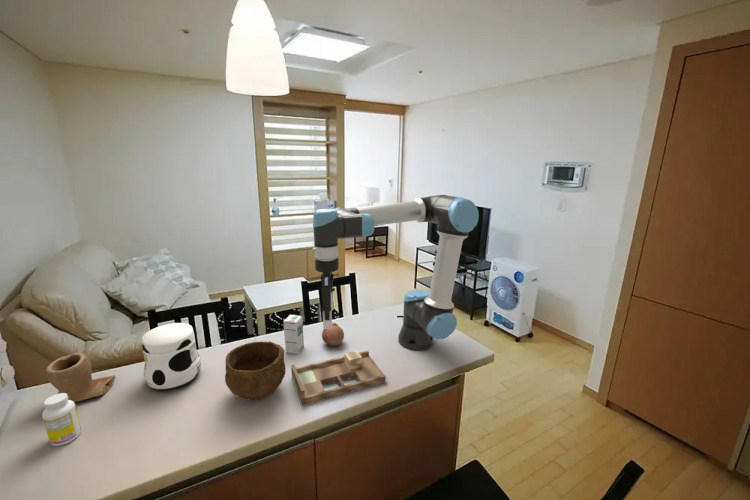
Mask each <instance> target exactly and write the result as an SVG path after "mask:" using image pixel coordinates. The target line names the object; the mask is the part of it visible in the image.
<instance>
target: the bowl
mask: <svg viewBox="0 0 750 500" xmlns="http://www.w3.org/2000/svg"><path fill="white" fill-rule="evenodd" d="M285 353H286V350H285V349H284V348H283V347H282V346H281V345H280V344H277V343H275V342H272V341H253V342H248V343H244V344H241V345H238V346H236V347H235V348H233V349H231V350H230V351H229V352H228V353H227V355H226V356H225V374H224V378H225V380H224V381H225V385H226V386H227V388H228V389H229V391H230V392H231V393H232V394H233V395H234V396H236V397H237V398H240V399H243V400H247V401H259V400H260V401H261V400H264V399H266V398H268V397H269V396H271V395H272V394H274V392H275V391H277V389H278V388H279V387H280V386H281V384H282V382H283V379H284V378H285V375H286V363H285Z"/></svg>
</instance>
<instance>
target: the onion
mask: <svg viewBox="0 0 750 500" xmlns="http://www.w3.org/2000/svg"><path fill="white" fill-rule="evenodd" d="M321 338H322V340H323V342H324V343H325V344H326V345H327V346H329V347H337V346H339V345H340V344H342V342H343V341H344V338H345V333H344V330H343V328H342V327H341V326H339V324H338V323H335V322H332V329H323V330H322V332H321Z"/></svg>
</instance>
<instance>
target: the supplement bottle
mask: <svg viewBox="0 0 750 500" xmlns="http://www.w3.org/2000/svg"><path fill="white" fill-rule="evenodd" d="M43 404H44V408H45V409H44V410H43V412H42V414H41V417H42V420H43V424H44V427H45V430H46V434H47V438H48V441H49V444H50V445H51V446H54V447H60V446H63V445H66V444H69V443H71V442H73V441H74V440H76V438H78V437H79V436H80V434H82V433H81V432H82V426H81V422H80V419H79V414H78V411H77V406H76V402H73V401H71V400H68V395H67V394H66V393H59V394H57V393H56V394H53V395H51V396H49V397H48V398H46V399H45V400H44V402H43Z"/></svg>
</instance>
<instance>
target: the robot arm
mask: <svg viewBox="0 0 750 500" xmlns="http://www.w3.org/2000/svg"><path fill="white" fill-rule="evenodd" d="M479 216H480V215H479V209H478V207H477V206H476V204H475V203H474V202H473V201H472V200H471V199H468V198H465V197H458V196H453V195H452V196H451V195H447V194H437V195H431V196H425V197H418V198H415V199H414V200H411V201H404V202H403V201H402V202H397V203H396V202H394V203H393V202H392V203H386V204H385V203H384V204H377V205H374V204H373V205H366V206H357V207H356V206H355V207H348V208H345V207H335V208H334V209H333V208H320V209H316V210H314V212H313V216H312V217H313V219H312V226H313V227H312V228H313V242H314V243H313V244H314V246H313V247H312V249H311V250H312V251H313V252H314V258H315V259H314V269H315V271H316V272H319V273H321V275H320V282H321V290H322V296H321V297H322V303H321V304H322V307H321V308H320V311H321V312H322V324H323V325H322V326H323V330H324V329H332V323H333V317H332V316H333V314H332V313H333V312H332V311H334V292H335V290H336V289H335V288H334V285H333V282H334V276H335V275H334V273H333V272H336V271H338V270H339V268H340V265H339V263H340V262H339V258H338V257H339V239H340V240H341V239H352V238H353V239H354V238H364V237H371V236H372V235H373V234H374V231H375V226H382V225H383V226H384V225H391V224H399V223H406V222H415V221H416V222H417V223H432V224H436V232H437V234H438V235H439V238H438V244H437V249H436V255H435V260H434V266H433V271H432V277H431V283H430V288H429V291H427V290H423V289H422V290H421V289H420V290H419V289H415V290H410V291H407V292H406V293H405V294H404V297H403V314H402V317H403V318H402V326H401V328H400V330H399V333H398V340H397V341H398V343H399V344H400V345H401V346H402V347H403V348H405V349H407V350H412V351H425V350H428V349H430V348H431V347H432V346H433V344H434V339H435V340H445V339H446V338H449V336H451V335H452V334H453V333H454V332H455V330H456V329H457V326H458V319H457V317H456V316H455V314H454V313H453V312H454V309H455V308H454V307H455V304H454V302H452V297H453V291H454V287H455V283H456V278H457V277H456V276H457V271H458V267H459V261H460V257H461V251H462V246H463V243H464V242H463V241H464V240H465V239H467V238H468V237H469V233H470V232H472V231H473V230H474V228H475V227H476V226H477V225H478V222H479Z"/></svg>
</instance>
